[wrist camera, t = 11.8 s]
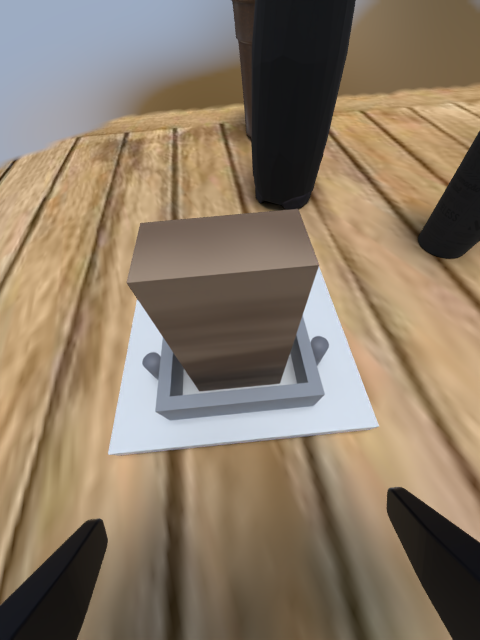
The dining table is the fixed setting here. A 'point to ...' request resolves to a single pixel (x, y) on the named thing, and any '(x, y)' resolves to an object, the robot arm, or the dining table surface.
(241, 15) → the plant pot
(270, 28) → the portable speaker
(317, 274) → the white base with frame
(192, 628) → the dining table surface
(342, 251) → the dining table surface
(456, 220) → the drinking cup
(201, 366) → the wooden rectangular pillar
